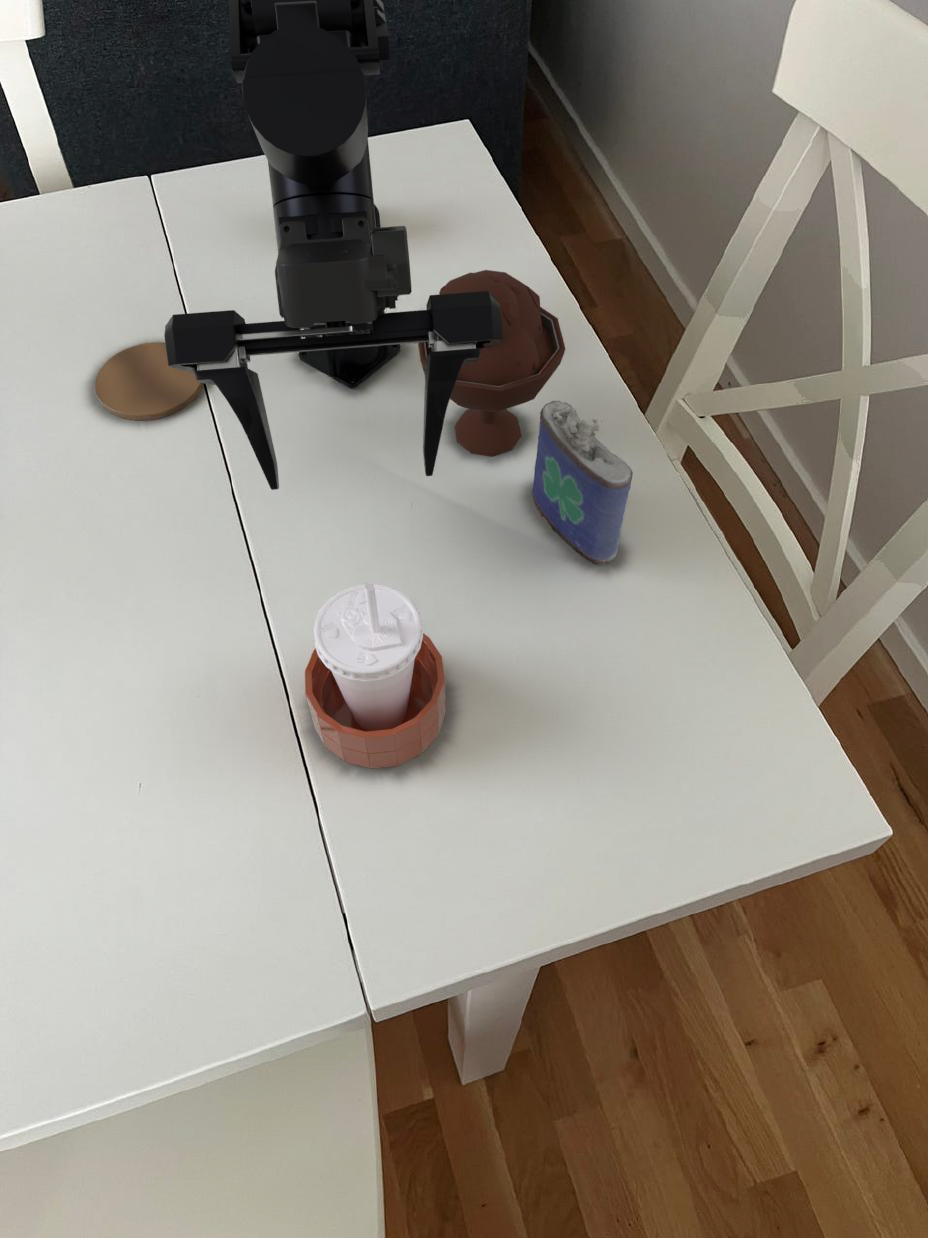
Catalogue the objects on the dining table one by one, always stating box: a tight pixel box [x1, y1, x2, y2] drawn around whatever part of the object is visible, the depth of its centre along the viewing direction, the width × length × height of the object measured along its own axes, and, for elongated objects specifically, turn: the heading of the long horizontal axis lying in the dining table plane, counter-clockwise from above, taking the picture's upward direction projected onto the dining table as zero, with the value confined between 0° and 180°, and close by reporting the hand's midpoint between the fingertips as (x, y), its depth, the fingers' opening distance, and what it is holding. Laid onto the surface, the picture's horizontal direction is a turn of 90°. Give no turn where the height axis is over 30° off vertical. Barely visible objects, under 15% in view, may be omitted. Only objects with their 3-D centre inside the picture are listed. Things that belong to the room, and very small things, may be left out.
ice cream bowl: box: [417, 269, 566, 457], centre depth 74 cm, size 11×11×15 cm
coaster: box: [94, 341, 204, 421], centre depth 83 cm, size 9×9×1 cm
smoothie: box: [313, 581, 424, 731], centre depth 60 cm, size 6×6×14 cm
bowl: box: [304, 632, 447, 769], centre depth 64 cm, size 9×9×4 cm
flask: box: [531, 400, 634, 567], centre depth 70 cm, size 9×3×11 cm, turn 32°
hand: (352, 482), depth 59 cm, fingers open, 9 cm apart
